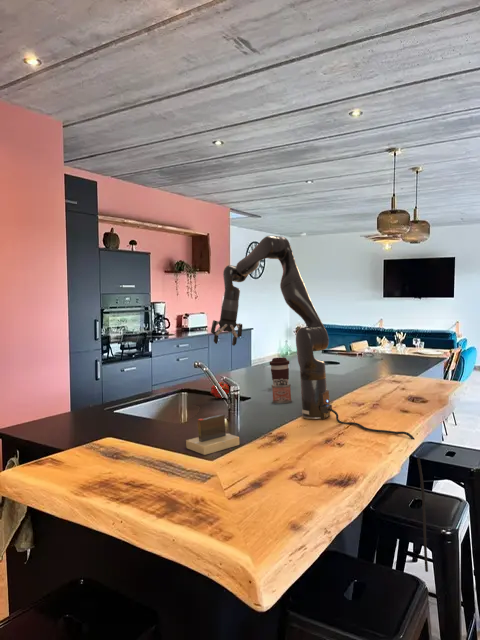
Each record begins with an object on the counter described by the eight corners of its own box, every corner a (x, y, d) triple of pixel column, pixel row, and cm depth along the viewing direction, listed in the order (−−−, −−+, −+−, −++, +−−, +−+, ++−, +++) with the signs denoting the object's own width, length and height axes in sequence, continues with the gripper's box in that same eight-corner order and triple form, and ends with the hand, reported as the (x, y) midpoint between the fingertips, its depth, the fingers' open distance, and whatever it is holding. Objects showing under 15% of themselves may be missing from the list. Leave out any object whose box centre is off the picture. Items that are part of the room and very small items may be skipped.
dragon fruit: (211, 400, 228) (232, 405, 222) (203, 393, 222) (225, 398, 216) (218, 384, 232) (239, 389, 226) (210, 376, 225) (232, 381, 219)
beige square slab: (218, 438, 158) (217, 429, 158) (243, 445, 148) (242, 437, 147) (183, 447, 150) (182, 438, 150) (207, 456, 139) (206, 447, 139)
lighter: (291, 400, 209) (290, 377, 209) (291, 402, 205) (290, 379, 205) (272, 401, 210) (271, 378, 209) (272, 403, 206) (271, 380, 206)
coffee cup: (283, 390, 234) (281, 359, 234) (267, 389, 241) (265, 359, 241) (294, 386, 242) (293, 357, 241) (279, 385, 248) (277, 356, 248)
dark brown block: (222, 434, 152) (221, 413, 152) (225, 435, 151) (224, 414, 150) (198, 441, 146) (197, 419, 146) (201, 442, 145) (200, 419, 145)
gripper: (217, 308, 215) (212, 344, 216) (247, 312, 220) (241, 347, 221) (212, 306, 222) (207, 341, 223) (241, 310, 227) (236, 344, 228)
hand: (224, 344), depth 222 cm, fingers open, 8 cm apart
